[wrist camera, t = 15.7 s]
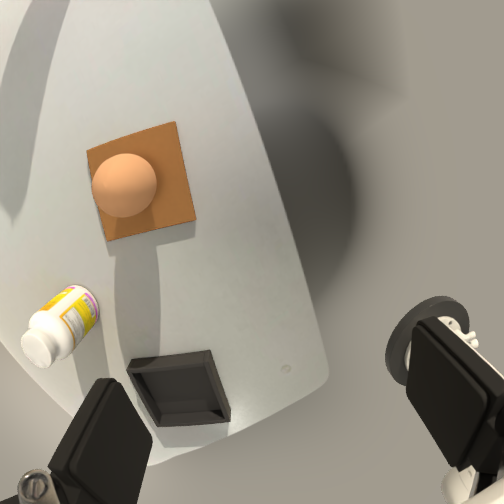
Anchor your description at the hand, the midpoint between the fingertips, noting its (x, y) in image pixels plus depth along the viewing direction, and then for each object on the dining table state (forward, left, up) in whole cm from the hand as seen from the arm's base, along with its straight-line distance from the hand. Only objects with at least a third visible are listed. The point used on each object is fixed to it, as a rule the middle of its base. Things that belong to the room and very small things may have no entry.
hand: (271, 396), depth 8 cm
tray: (+15, +22, -28) cm, 39 cm away
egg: (+12, -8, -28) cm, 31 cm away
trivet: (+12, -8, -28) cm, 32 cm away
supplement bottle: (+26, +6, -28) cm, 39 cm away
